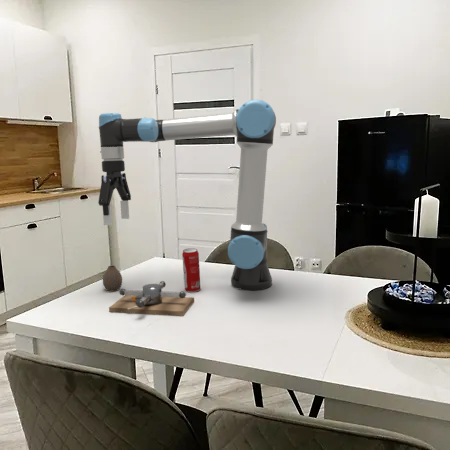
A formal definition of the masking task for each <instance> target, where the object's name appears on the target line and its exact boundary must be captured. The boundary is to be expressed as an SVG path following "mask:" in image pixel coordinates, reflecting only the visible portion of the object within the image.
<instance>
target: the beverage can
mask: <svg viewBox="0 0 450 450" xmlns="http://www.w3.org/2000/svg"><path fill="white" fill-rule="evenodd" d="M181 257H182V266H183V267H182V268H183V283H184V291H186V292H187V293H197V292H198V291H201V286H202V285H201V272H200V271H201V270H200V255H199V250H198V249H197V248H194V247H191V248H185V249H183V250H182V256H181Z"/></svg>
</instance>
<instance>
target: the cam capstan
mask: <svg viewBox="0 0 450 450" xmlns="http://www.w3.org/2000/svg"><path fill="white" fill-rule="evenodd" d="M166 285H167V283H166V281H164V280H161V281H159V282H158V283H148V284H144V285H143V286H142V287H141V288H142V289H125V288H120V289H119V295H120V296H125V295H136V296H133V297H132V301H136V303H137V306H138V307H139V308H142V307H143V306H144V305H154V304H159V303H161V302H162V297H178V298H185V297H187V294H186V292H185V291H168V290H164V291H163V290H162V289H163V288H165V287H166Z"/></svg>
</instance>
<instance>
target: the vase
mask: <svg viewBox="0 0 450 450" xmlns="http://www.w3.org/2000/svg"><path fill="white" fill-rule="evenodd" d="M102 276H103V277H102V285H103V288H105V290H107V291H108V292H116V291H118V290H120V289H121V287H122V284H123V276H122V274H121V272H120V270H118V268H117V267H116V265H113V264H112V265H108V266H107V268H106V270H105V272H104V274H103V275H102Z"/></svg>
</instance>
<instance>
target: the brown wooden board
mask: <svg viewBox="0 0 450 450" xmlns="http://www.w3.org/2000/svg"><path fill="white" fill-rule="evenodd" d="M133 296H136V295H122V297H121V298H119V299H118V300H116V301H115V302H114V303H113V304H111V305H110V306H109V307H108V310H109V311H108V312H109V313H121V314H135V315H137V314H138V315H139V314H140V315H154V316H155V315H157V316H170V317H171V316H174V317H184V316H185V314H186V313H187V312H188V311H189V310H190V308H191V307H192V306H193V304H195V297H190V296H189V297H187V296H185V298H178V297H162V302H161V303H159V304H154V305H144V306H143V307H142V308H139V307H138V306H137V303H136V301H132V297H133Z"/></svg>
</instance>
